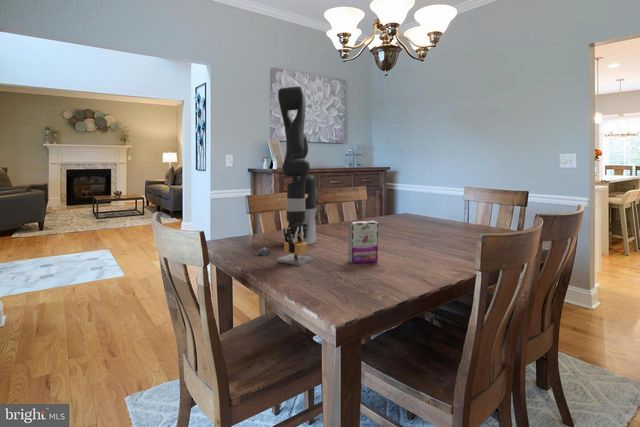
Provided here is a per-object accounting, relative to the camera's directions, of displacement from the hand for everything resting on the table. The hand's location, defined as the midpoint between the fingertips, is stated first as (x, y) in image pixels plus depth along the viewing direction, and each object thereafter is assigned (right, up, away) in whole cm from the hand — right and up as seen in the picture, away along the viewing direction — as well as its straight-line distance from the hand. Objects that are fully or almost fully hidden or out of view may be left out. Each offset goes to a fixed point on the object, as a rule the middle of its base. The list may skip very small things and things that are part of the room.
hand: (295, 250), depth 150 cm
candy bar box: (+27, -5, +1) cm, 27 cm away
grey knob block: (-14, -3, +10) cm, 18 cm away
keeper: (0, -4, +1) cm, 4 cm away
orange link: (0, -1, 0) cm, 1 cm away
